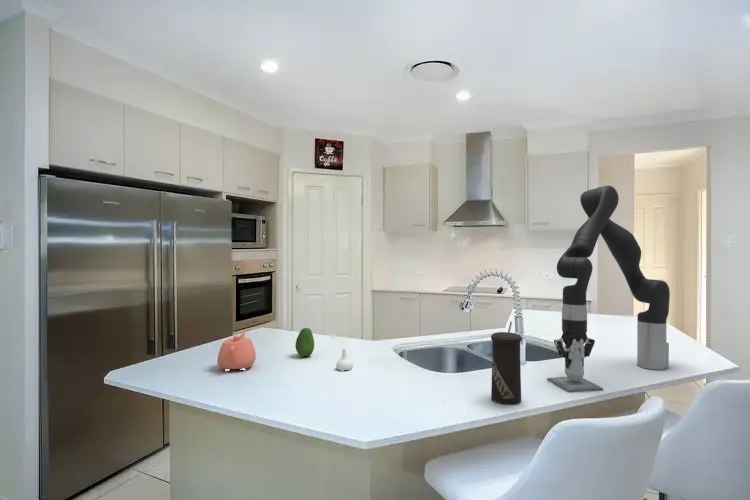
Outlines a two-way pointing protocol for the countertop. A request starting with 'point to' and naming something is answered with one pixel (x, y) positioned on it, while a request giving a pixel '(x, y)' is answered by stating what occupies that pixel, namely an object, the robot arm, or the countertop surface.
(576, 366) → the grey rounded lobed piece
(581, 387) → the coaster
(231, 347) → the teapot
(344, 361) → the garlic bulb
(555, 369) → the countertop surface
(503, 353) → the container
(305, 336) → the fruit
